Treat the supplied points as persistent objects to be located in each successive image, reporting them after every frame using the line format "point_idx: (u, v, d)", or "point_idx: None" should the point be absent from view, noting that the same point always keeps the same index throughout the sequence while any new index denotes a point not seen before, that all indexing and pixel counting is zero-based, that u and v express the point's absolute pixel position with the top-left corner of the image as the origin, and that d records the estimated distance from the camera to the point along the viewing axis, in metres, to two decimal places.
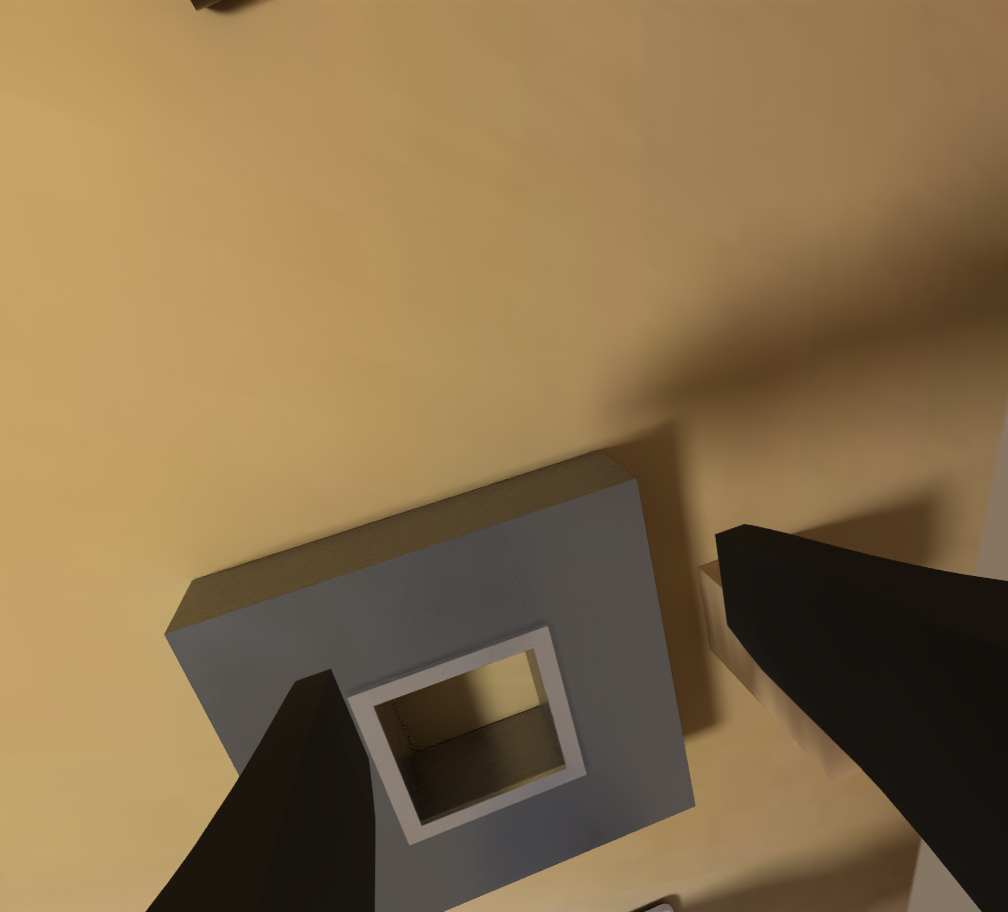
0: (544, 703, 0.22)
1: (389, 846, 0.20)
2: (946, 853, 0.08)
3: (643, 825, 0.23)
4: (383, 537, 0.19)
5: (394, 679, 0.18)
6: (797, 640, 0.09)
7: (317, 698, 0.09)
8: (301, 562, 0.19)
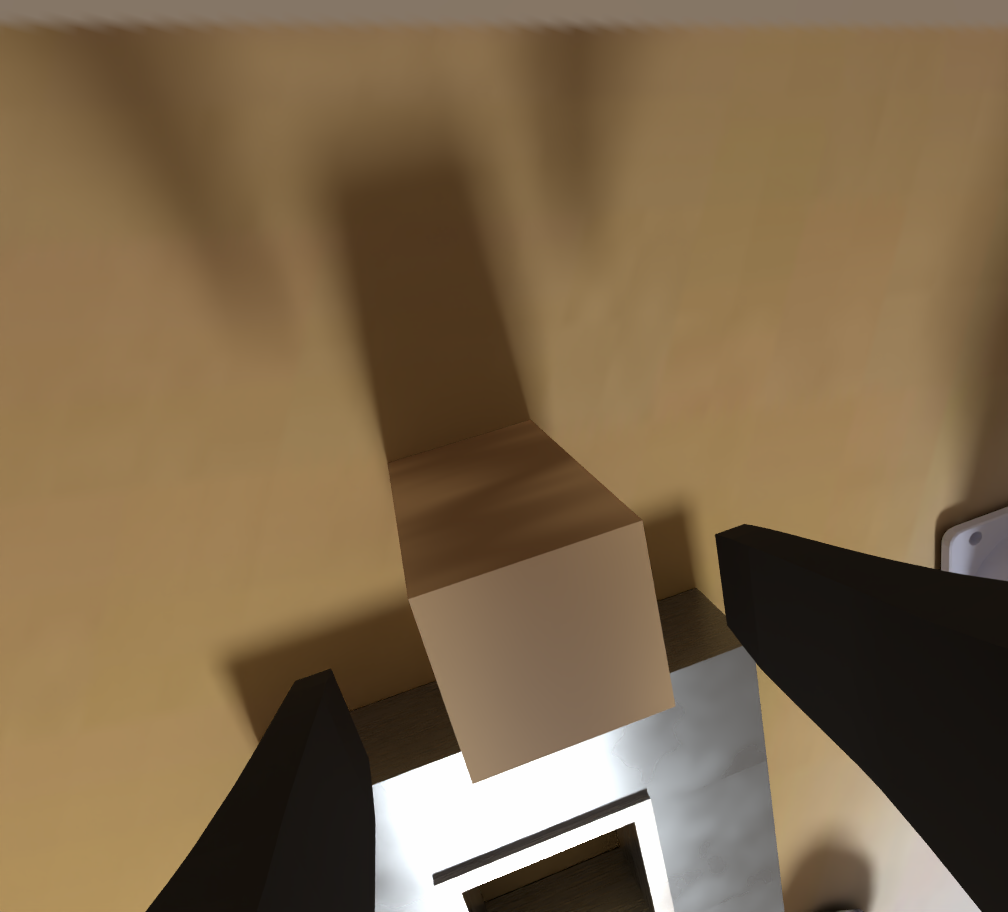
0: None
1: None
2: (946, 853, 0.08)
3: (758, 699, 0.17)
4: None
5: None
6: (798, 640, 0.09)
7: (317, 698, 0.09)
8: None
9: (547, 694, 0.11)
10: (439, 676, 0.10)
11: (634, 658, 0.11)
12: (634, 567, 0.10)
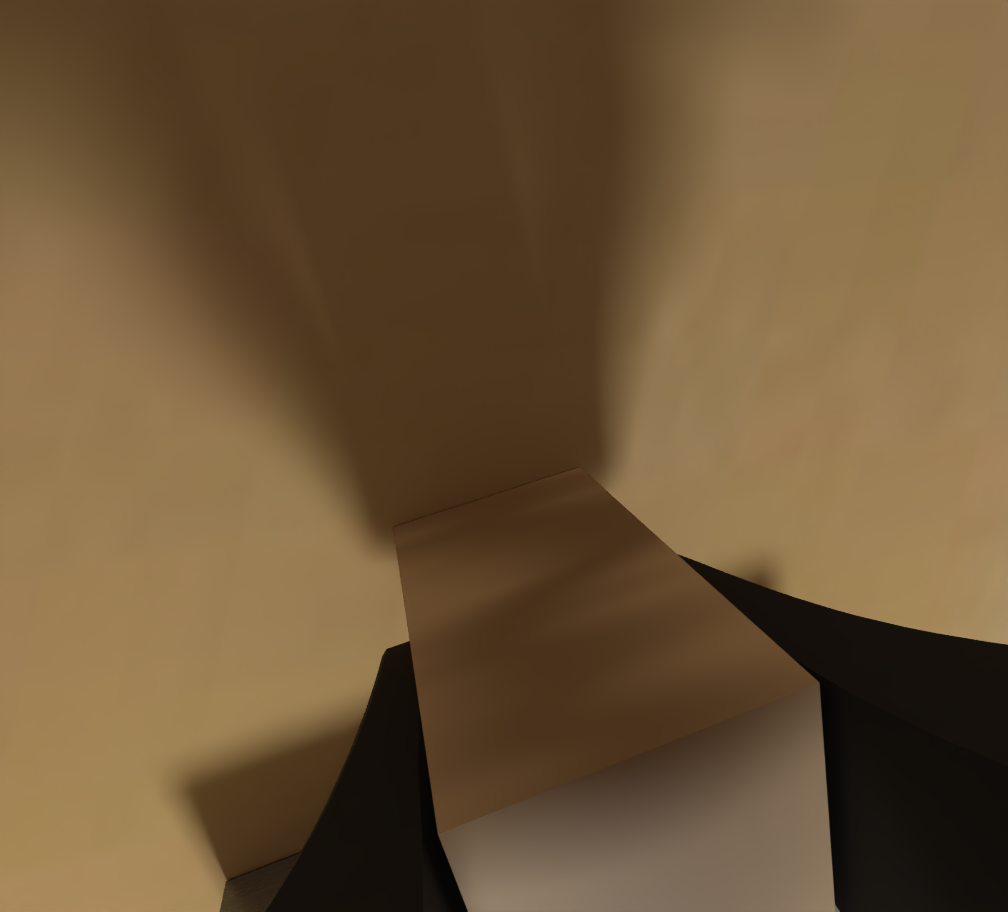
0: None
1: None
2: (841, 901, 0.07)
3: None
4: None
5: None
6: None
7: None
8: None
9: None
10: None
11: (786, 880, 0.07)
12: (799, 751, 0.06)
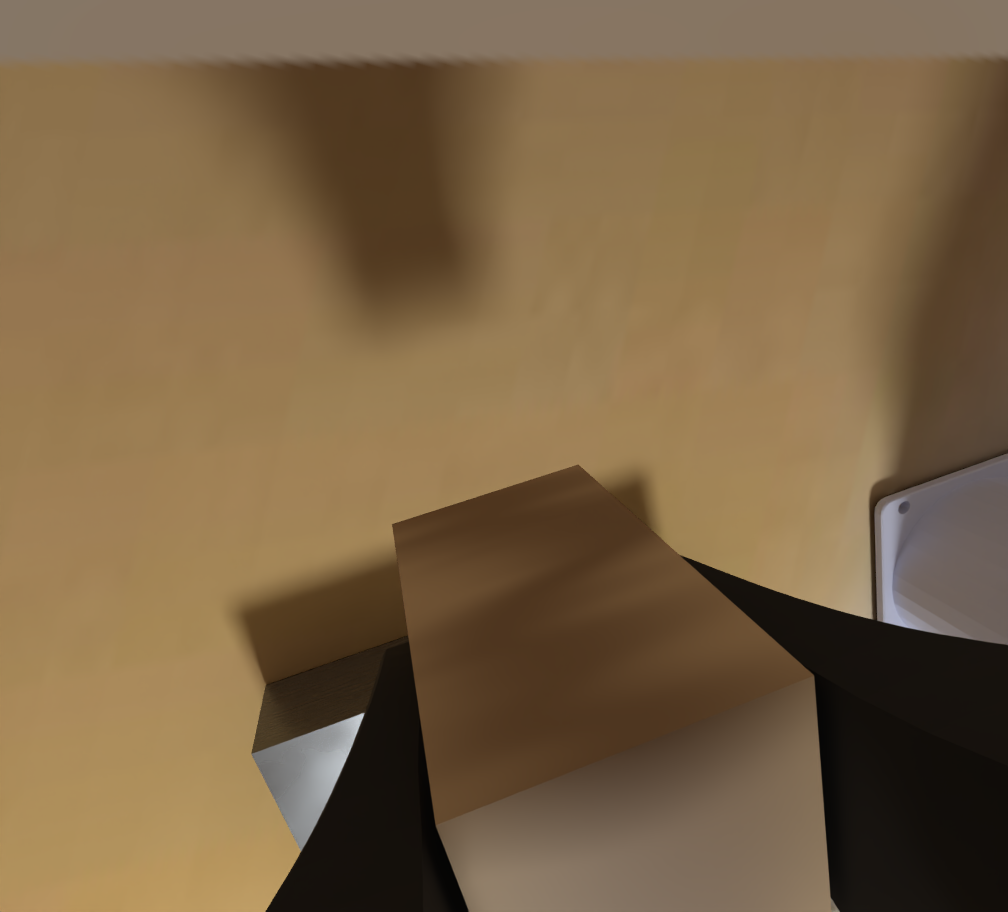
0: None
1: None
2: (841, 901, 0.07)
3: None
4: None
5: None
6: None
7: None
8: None
9: None
10: None
11: (781, 872, 0.07)
12: (794, 744, 0.06)
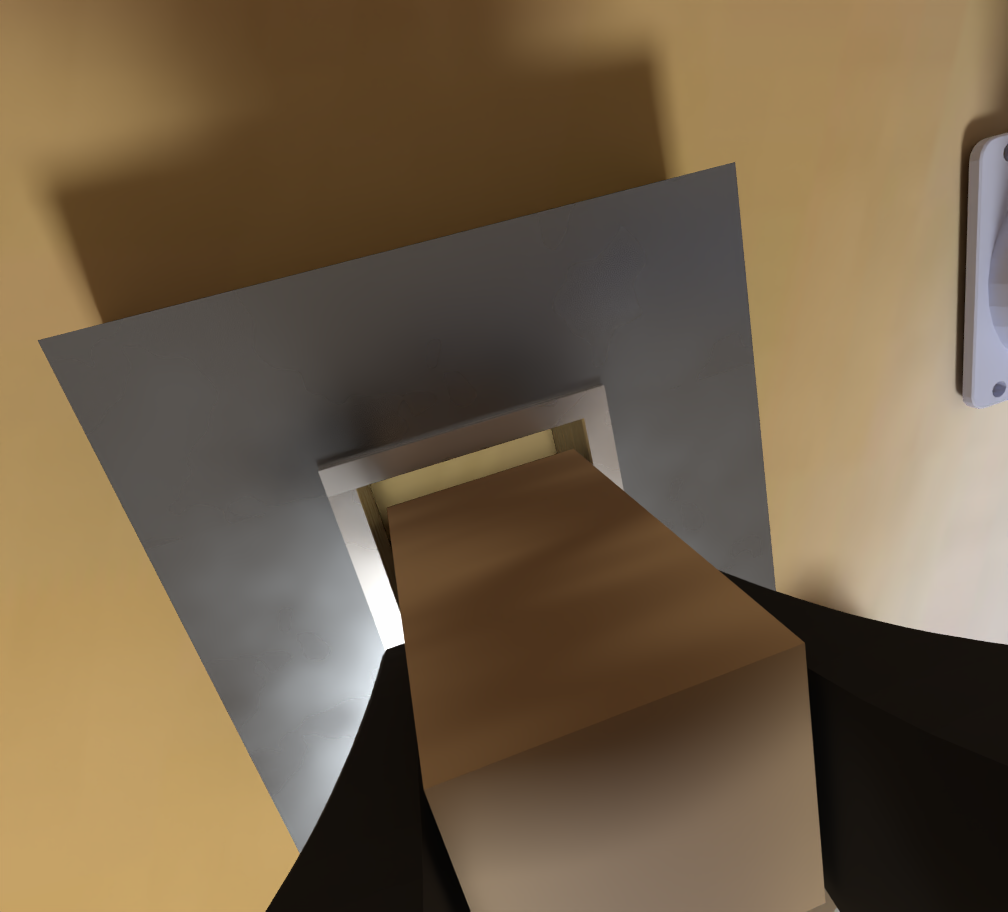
0: None
1: None
2: (840, 900, 0.07)
3: (742, 264, 0.14)
4: None
5: None
6: None
7: None
8: None
9: (639, 907, 0.07)
10: (472, 899, 0.06)
11: (773, 844, 0.07)
12: (785, 712, 0.06)
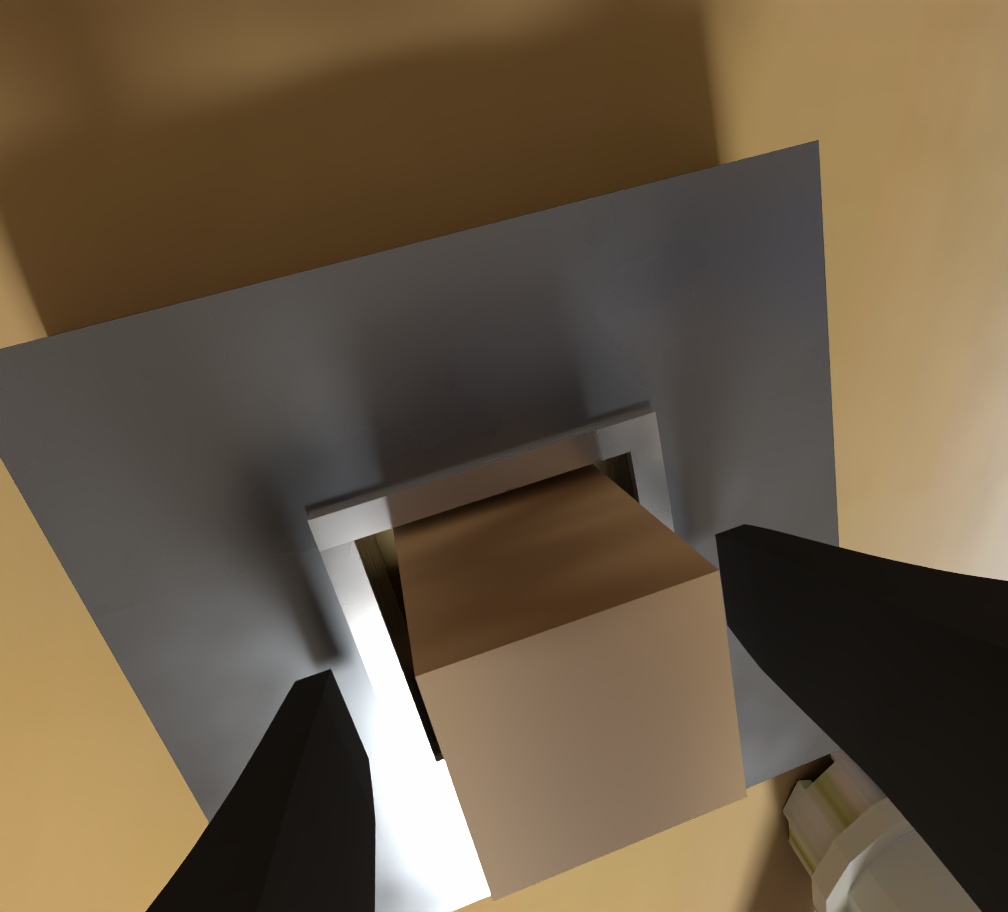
0: None
1: None
2: (947, 853, 0.08)
3: (821, 265, 0.11)
4: None
5: (393, 738, 0.12)
6: (798, 640, 0.09)
7: (317, 698, 0.09)
8: None
9: (590, 789, 0.08)
10: (453, 772, 0.08)
11: (699, 741, 0.09)
12: (706, 629, 0.08)
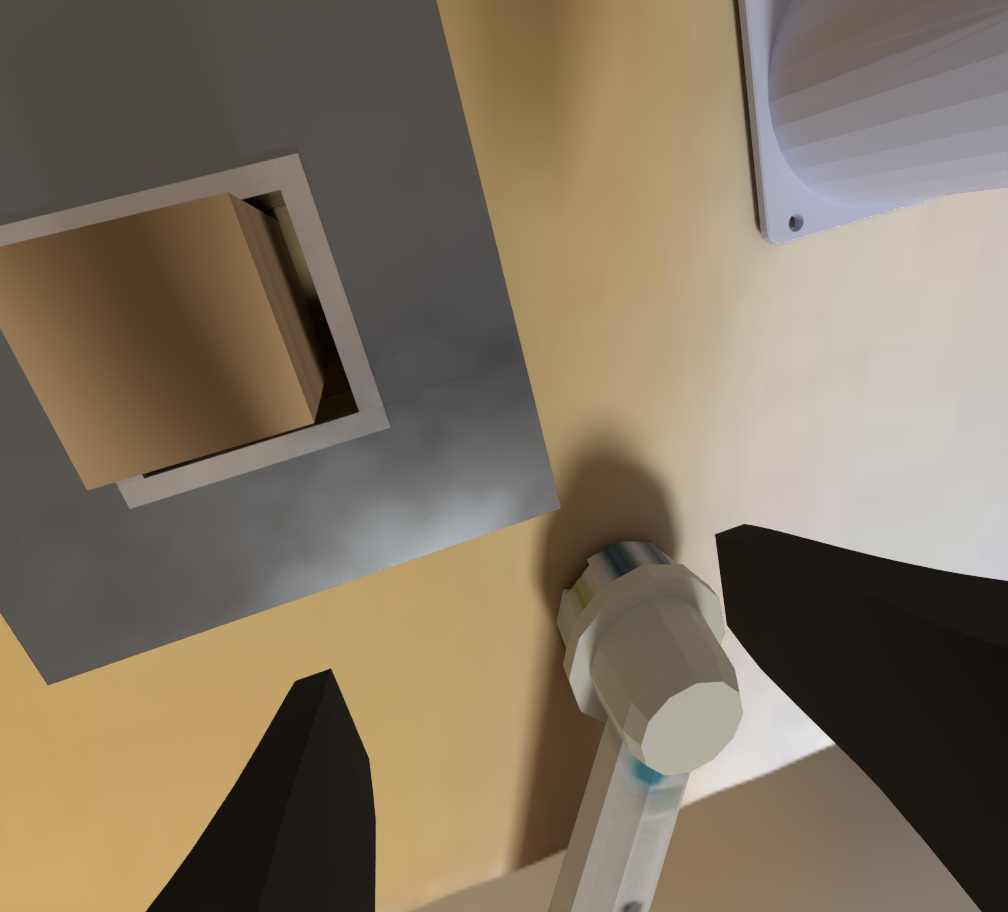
0: None
1: (395, 449, 0.16)
2: (946, 853, 0.08)
3: (442, 30, 0.13)
4: None
5: None
6: (798, 640, 0.09)
7: (317, 698, 0.09)
8: None
9: (154, 391, 0.10)
10: (19, 354, 0.10)
11: (251, 359, 0.11)
12: (229, 247, 0.10)
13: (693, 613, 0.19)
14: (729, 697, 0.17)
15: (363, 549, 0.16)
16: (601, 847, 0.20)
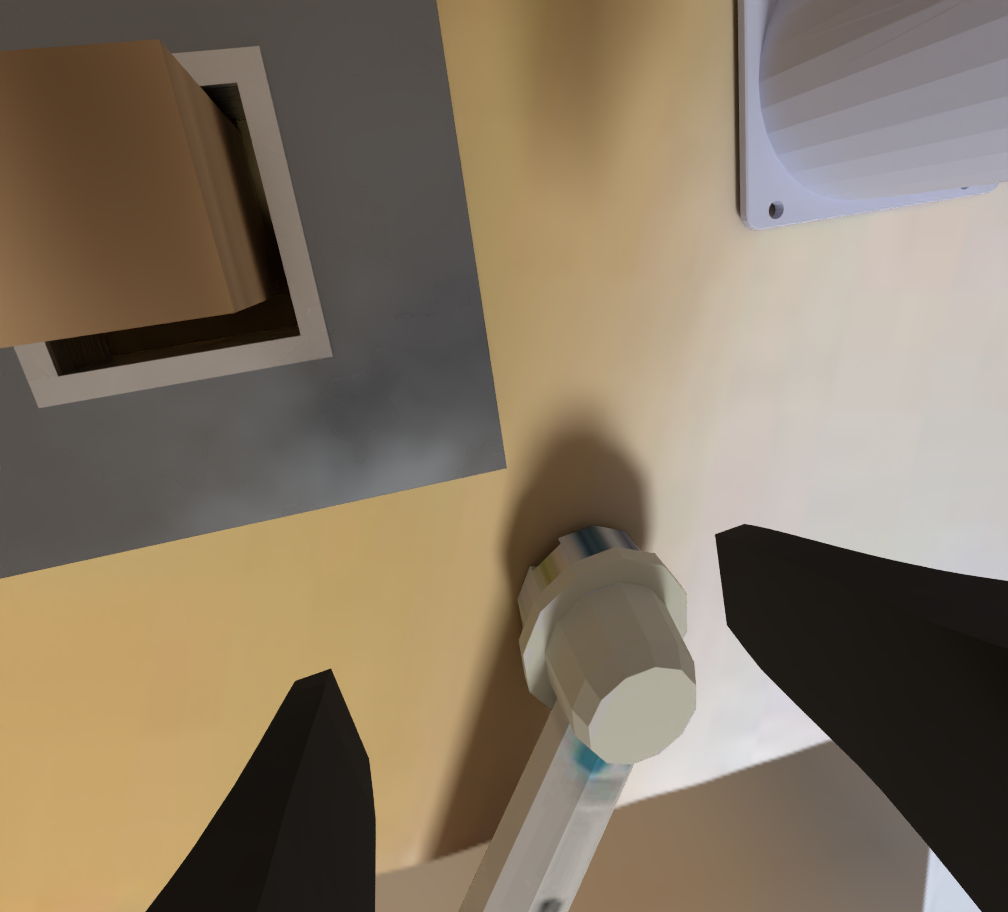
0: None
1: (336, 381, 0.15)
2: (946, 853, 0.08)
3: None
4: None
5: None
6: (797, 640, 0.09)
7: (317, 698, 0.09)
8: None
9: (58, 252, 0.09)
10: None
11: (170, 231, 0.10)
12: (155, 101, 0.09)
13: (659, 603, 0.18)
14: (685, 688, 0.17)
15: (292, 486, 0.15)
16: (529, 836, 0.19)
